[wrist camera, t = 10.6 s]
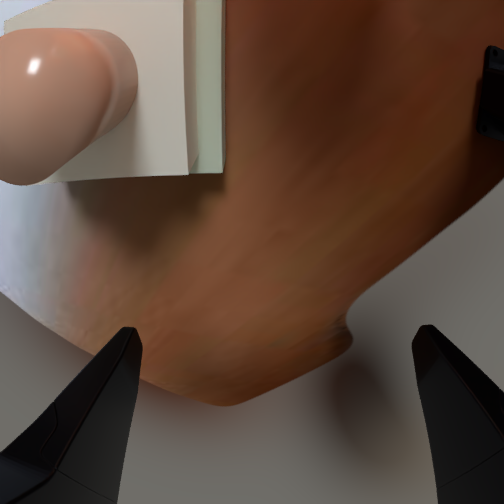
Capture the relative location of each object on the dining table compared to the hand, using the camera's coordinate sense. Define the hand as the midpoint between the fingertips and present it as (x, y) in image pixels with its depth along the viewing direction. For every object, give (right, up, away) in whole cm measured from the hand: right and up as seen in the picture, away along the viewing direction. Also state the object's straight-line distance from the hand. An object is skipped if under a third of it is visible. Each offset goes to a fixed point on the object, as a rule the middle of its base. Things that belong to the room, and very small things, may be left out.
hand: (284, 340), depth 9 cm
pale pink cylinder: (-8, +10, +1) cm, 13 cm away
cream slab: (-8, +11, +4) cm, 15 cm away
